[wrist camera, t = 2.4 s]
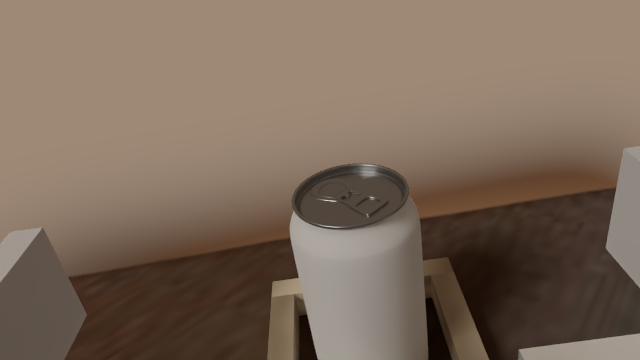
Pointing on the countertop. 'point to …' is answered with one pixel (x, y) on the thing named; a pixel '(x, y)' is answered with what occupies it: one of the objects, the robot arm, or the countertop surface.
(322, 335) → the can
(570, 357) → the trivet
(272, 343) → the holder
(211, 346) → the countertop surface
